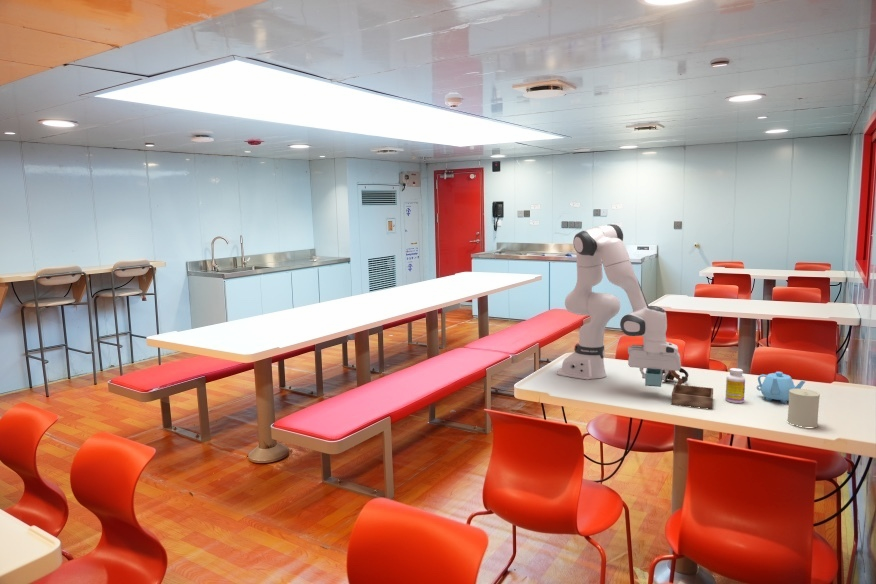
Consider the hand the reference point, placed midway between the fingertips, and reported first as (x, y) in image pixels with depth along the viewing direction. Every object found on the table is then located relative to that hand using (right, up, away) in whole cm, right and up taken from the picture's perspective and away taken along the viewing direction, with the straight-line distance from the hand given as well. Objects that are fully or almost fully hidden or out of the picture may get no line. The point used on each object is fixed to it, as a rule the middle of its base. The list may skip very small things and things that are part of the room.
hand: (653, 379), depth 236 cm
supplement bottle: (+29, -8, -7) cm, 31 cm away
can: (+40, -11, -33) cm, 53 cm away
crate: (+12, -8, -8) cm, 17 cm away
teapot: (+48, -8, -6) cm, 49 cm away
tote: (0, -2, 0) cm, 2 cm away
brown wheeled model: (+16, -5, +20) cm, 26 cm away
